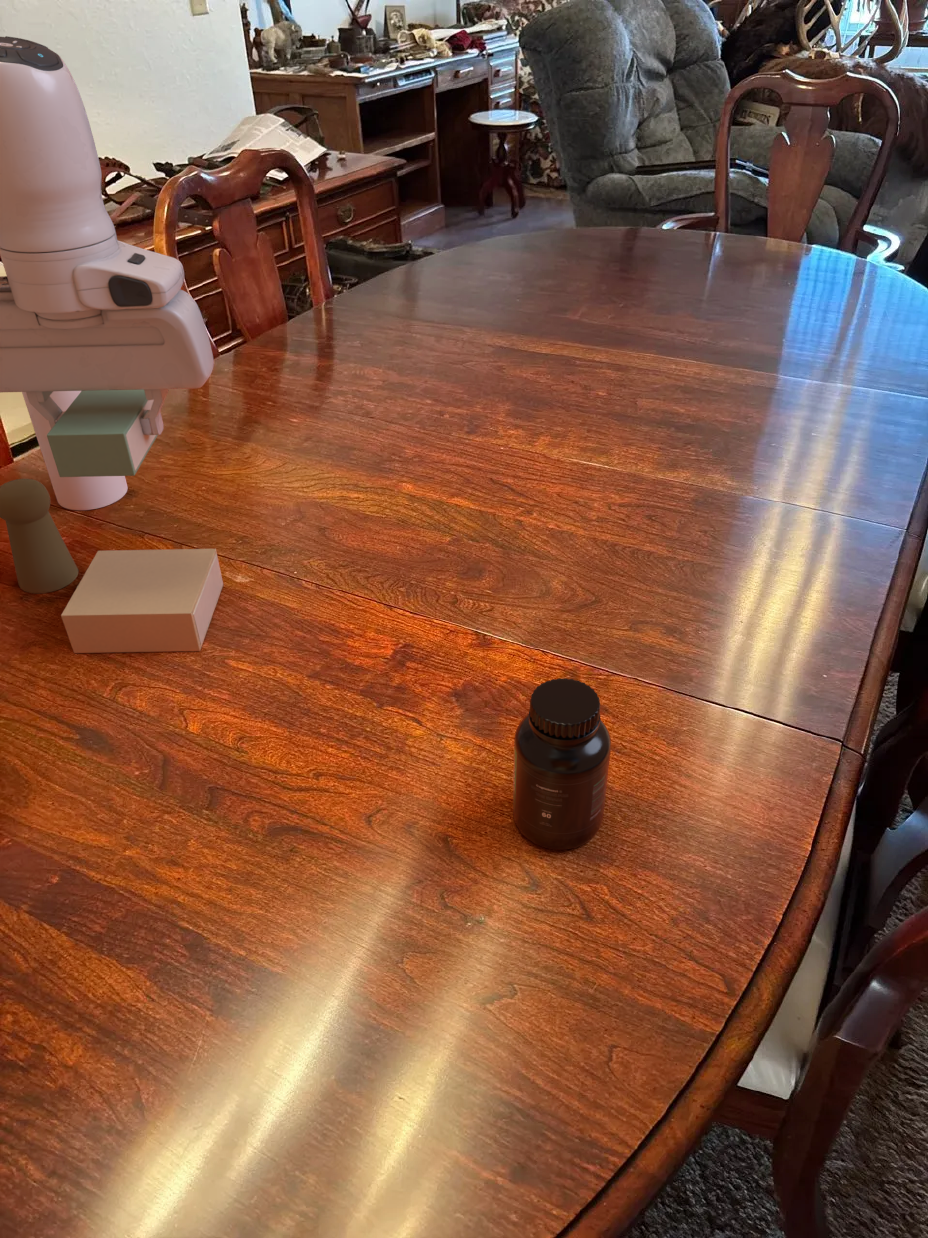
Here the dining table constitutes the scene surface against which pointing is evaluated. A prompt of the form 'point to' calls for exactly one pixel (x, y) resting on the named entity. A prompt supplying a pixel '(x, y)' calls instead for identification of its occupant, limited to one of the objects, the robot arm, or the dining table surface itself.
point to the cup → (74, 489)
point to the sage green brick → (101, 434)
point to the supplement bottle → (561, 766)
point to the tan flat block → (144, 601)
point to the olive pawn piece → (35, 538)
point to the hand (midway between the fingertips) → (110, 433)
